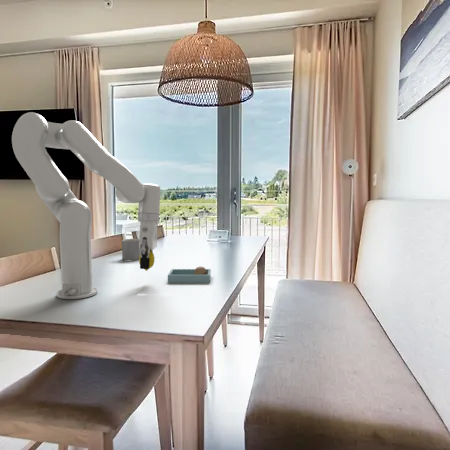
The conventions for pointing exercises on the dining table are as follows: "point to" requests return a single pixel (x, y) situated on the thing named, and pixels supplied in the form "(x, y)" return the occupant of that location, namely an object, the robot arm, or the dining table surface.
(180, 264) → the dining table surface
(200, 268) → the walnut ball
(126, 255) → the coffee mug
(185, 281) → the trough
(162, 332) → the dining table surface
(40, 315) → the dining table surface
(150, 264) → the lemon
